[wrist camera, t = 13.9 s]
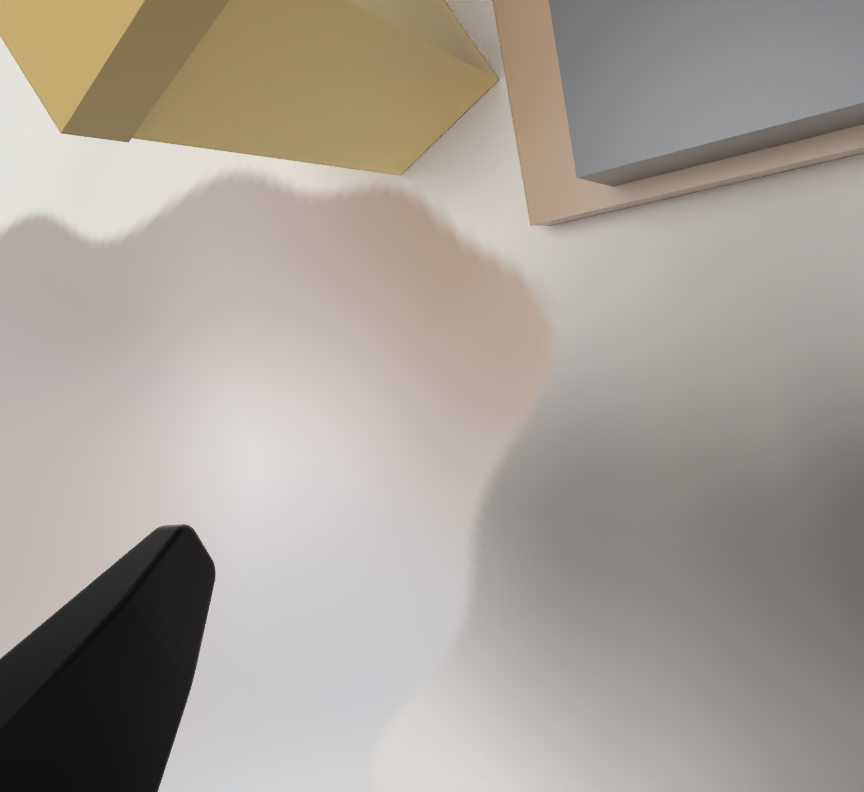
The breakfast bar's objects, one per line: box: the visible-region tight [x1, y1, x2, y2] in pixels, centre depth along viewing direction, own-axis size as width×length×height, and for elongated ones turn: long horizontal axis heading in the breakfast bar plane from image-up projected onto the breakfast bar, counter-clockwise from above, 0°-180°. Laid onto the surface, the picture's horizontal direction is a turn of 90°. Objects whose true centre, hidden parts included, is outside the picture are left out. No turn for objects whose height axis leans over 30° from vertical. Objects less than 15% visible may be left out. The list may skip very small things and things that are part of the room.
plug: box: [0, 0, 499, 175], centre depth 14 cm, size 4×4×10 cm
